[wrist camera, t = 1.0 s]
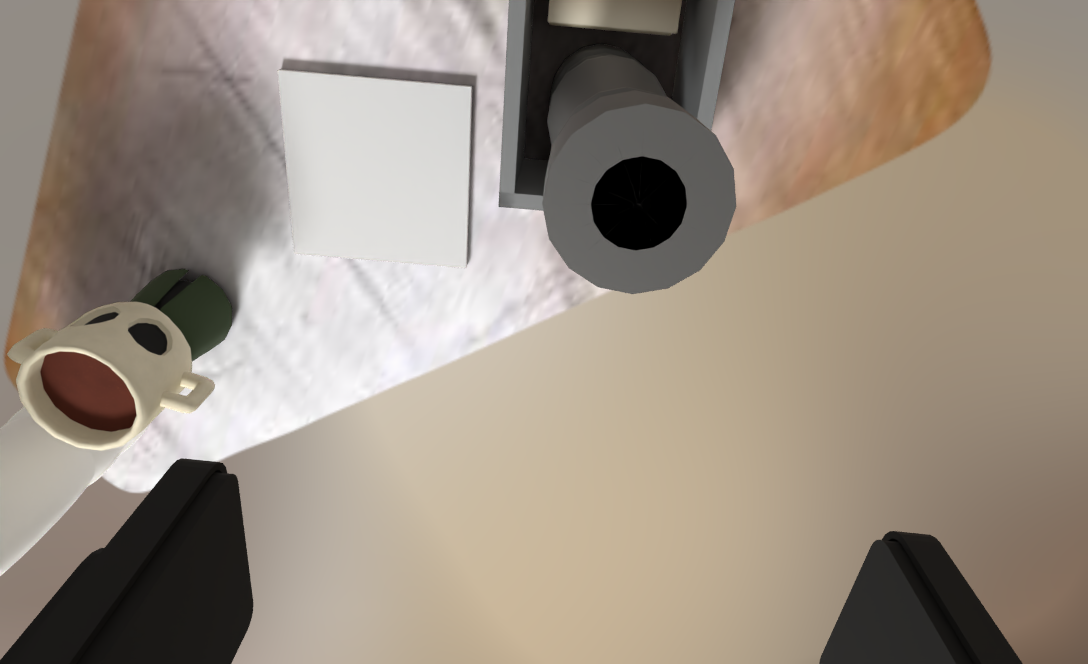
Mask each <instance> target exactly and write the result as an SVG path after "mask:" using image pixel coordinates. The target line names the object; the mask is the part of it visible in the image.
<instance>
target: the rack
mask: <svg viewBox="0 0 1088 664" xmlns="http://www.w3.org/2000/svg"><path fill="white" fill-rule="evenodd" d="M734 3H735V0H687V2H686V9H685V15H684V22H683V28H682V34H681V41H680V47H679V54H678V60H677V67H676V73H675V79H674V86H673V92H672V99H671V100H673V101H674V102H675V103H677V104H678V105H679V106H681V107H682V108H683V109H685V110H686V111H687V112H689V113H690V114H691V115H693V116H694V117H695V118H697V119H698V120H699V121H700V122H701V123H702V124H703V125H705V126H706V127H707V128H708V129H709V130H710V131H711V128H712V123H713V117H714V112H715V106H716V101H717V95H718V90H719V85H720V79H721V74H722V68H723V63H724V57H725V52H726V47H727V41H728V36H729V30H730V25H731V19H732V14H733V9H734ZM533 8H534V0H509V11H508V31H507V51H506V71H505V91H504V111H503V130H502V150H501V170H500V190H499V207H507V208H519V209H531V210H542V211H544V210H543V205H542V201H543V192H544V183H545V176H546V171H547V167H548V162H549V160H537V159H526V158H524V146H525V131H526V115H527V100H528V85H529V69H530V54H531V39H532V23H533Z"/></svg>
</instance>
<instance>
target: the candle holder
mask: <svg viewBox="0 0 1088 664" xmlns="http://www.w3.org/2000/svg"><path fill="white" fill-rule="evenodd" d="M549 106H550V108H549V113H548V118H547V123H548V129H549V134H550V139H551V145H552V147H551V152H550V157H549V162H548V167H547V171H546V176H545V183H544V192H543V201H542V205H543V210H544V215H545V220H546V225H547V231H548V236H549V240H550V241H551V242H552V244H553V245H554V247H555V248H556V250H557V251H558V253H559V254H560V256H561V257H562V259H563V260H564V262H565V263H566V265H567V266H568V267H569V268H570V269H571V270H573V271H574V272H576V273H577V274H579V275H580V276H582V277H583V278H585V279H586V280H588V281H589V282H591V283H593V284H594V285H596V286H597V287H600V288H605V289H610V290H615V291H620V292H625V293H630V294H636V293H642V292H648V291H654V290H660V289H667V288H670V287H671V286H673V285H675V284H676V283H678V282H680V281H682V280H684V279H685V278H687V277H689V276H691V275H692V274H694V273H696V272H697V271H699V270H701V269H702V267H703V266H704V265H705V264H706V263H707V261H708V260H709V259H710V258H711V257H712V255H713V254H714V253H715V251H717V249H718V248H719V247H720V246H721V245H722V244H723V242H724V241H725V238H726V235H727V232H728V229H729V226H730V223H731V220H732V217H733V214H734V211H735V208H736V196H735V182H734V169H733V167H732V165H731V163H730V161H729V159H728V157H727V155H726V154H725V152H724V150H723V148H722V146H721V144H720V142H719V140H718V139H717V137H716V135H715V134H714V133H712V132H711V131H710V130H709V129H708V128H707V127H706V126H705V125H703V124H702V123H701V122H700V121H699V120H698V119H697V118H695V117H694V116H693V115H691V114H690V113H689V112H687V111H686V110H685V109H683V108H682V107H681V106H679V105H678V104H677V103H675V102H674V101H673V100H671V99H670V98H668V97H667V96H666V94H665V92H664V90H663V88H662V87H661V85H660V83H659V81H658V79H657V78H656V76H655V75H654V74H653V73H651V72H650V71H649V70H647V69H646V68H645V67H644V66H643V65H642V64H641V63H640V62H639V61H638V60H636V59H635V58H634V57H632V56H631V55H630V54H629V53H627V52H626V51H625V50H623V49H622V48H620V47H615V46H611V45H606V44H602V43H601V44H596V45H592V46H587V47H582V48H581V49H579V50H578V51H576V52H575V53H573V54H572V55H571V56H569V57H568V58H566V59H565V60H564V62H563V64H562V65H561V67H560V68H559V70H558V71H557V73H556V74H555V76H554V80H553V85H552V90H551V95H550V101H549Z"/></svg>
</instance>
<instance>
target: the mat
mask: <svg viewBox="0 0 1088 664" xmlns="http://www.w3.org/2000/svg"><path fill="white" fill-rule="evenodd" d="M277 72H278V83H279V94H280V105H281V116H282V127H283V138H284V149H285V160H286V171H287V182H288V193H289V204H290V215H291V226H292V237H293V248H294V254H300V255H312V256H324V257H336V258H348V259H360V260H371V261H383V262H395V263H407V264H419V265H431V266H442V267H454V268H466V267H467V251H468V217H469V184H470V151H471V118H472V86H467V85H455V84H444V83H432V82H421V81H409V80H398V79H386V78H375V77H363V76H352V75H340V74H329V73H317V72H306V71H294V70H283V69H280V70H277Z"/></svg>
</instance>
